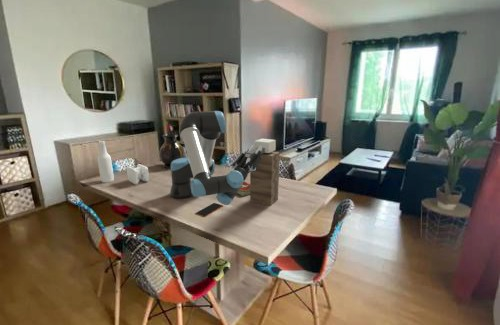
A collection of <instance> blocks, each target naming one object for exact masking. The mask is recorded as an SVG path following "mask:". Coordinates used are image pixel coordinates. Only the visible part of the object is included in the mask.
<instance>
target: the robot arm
mask: <svg viewBox="0 0 500 325" xmlns="http://www.w3.org/2000/svg"><path fill="white" fill-rule="evenodd" d="M178 128H179V129H178V130H179V131H178V132H179V137H180V139H181V140H182V141H183V143H184V148H185V152H186V155H187V157H184V158H179V159H176V160H174V161H172V163H171V168H170V172H171V188H170V192H169V194H170V195H169V196H170V198H172V199H175V200H183V199H189V198H191V197H194V198H200V197H207V196H211V195H216V200H217V202H219V204H221V205H223V206H228V205H230V204H231V203H232V202H233V200H234V198H235V197H236V195H237V194H238V193H237V192H238V190H239V189H240V187H241V186H242V184H243V182H246V181H245V180H246V179H247V177H248V175H249V173H250V171H254V172H256V168H257V166H258V164H259V163H260V161H261V156H260V154H261V151H262V146H261V145H260V146H259V148H258V149H257V151H256V153H255V156H254V157H253V158H252V159H251V160H250V159H249V161H247V160H248V158H247V157H245V153H246V152H248V151H251V150H253V149H255V144H252V145H251V146H250V147H249V148H248V149H247V151H244V152H242V153H240V155H239V156H238V158H237V159H236V160H235V162H233V163H232V167H233V170H230V171H229V172H228V173H227V174H225V175H217V176H212V175H214V173H215V166H216V164H215V160H214V158H212V157H213V153H214V149H215V145H216V141H217V139H219V137H221V134H224V133H226V130H227V123H226V117H225V115H224V112H222V111H220V110H209V111H207V110H206V111H192V112H189V113H188V114H186V115H185V116H184V117H183V119H182V120H181V121H180V124H179V127H178ZM252 165H253V166H252Z"/></svg>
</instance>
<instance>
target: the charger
mask: <svg viewBox="0 0 500 325" xmlns="http://www.w3.org/2000/svg"><path fill="white" fill-rule="evenodd" d="M276 141H277V140H276V139H269V138H260V139H256V140H254V147H255V149H253V150H251V151H248V150H247V151H248V152H247V151H245V152H246V153H245V152H244V153H245V157H247V159H250V158H253V157H254V156H255V153H256V151H257V149H258V148H259V146H260V145H261V146H262V151H261V154H263V153H270V152H275V151H276V148H277V147H276V144H277V143H276Z"/></svg>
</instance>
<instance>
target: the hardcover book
mask: <svg viewBox="0 0 500 325" xmlns="http://www.w3.org/2000/svg"><path fill="white" fill-rule="evenodd" d="M237 194H238V195H240V196H242V197H245V196H248V195H250V183H248V182H247V181H244V182H243V184H242V186H241V187H240V189H239V190H238V192H237Z"/></svg>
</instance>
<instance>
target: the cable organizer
mask: <svg viewBox="0 0 500 325" xmlns="http://www.w3.org/2000/svg"><path fill="white" fill-rule="evenodd" d="M126 173H127V174H126V175H127V179H128V181H129V182H130V183H132V184H133V185H136V186H137V185H138V184H139V182H140V180H142V181H143V182H146V183H147V182H149V181H150V174H149V168H148V167H147V166H146V165H143V164H141V163H138V164H136V167H131V166H126Z"/></svg>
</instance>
